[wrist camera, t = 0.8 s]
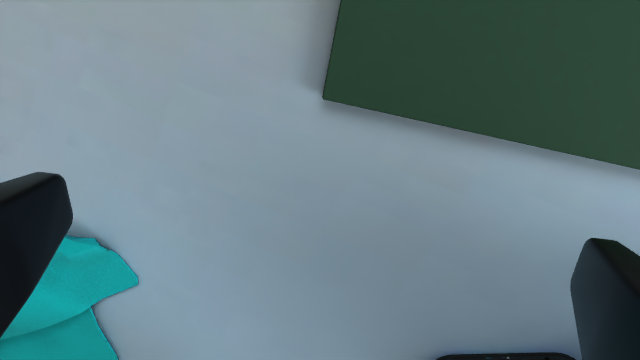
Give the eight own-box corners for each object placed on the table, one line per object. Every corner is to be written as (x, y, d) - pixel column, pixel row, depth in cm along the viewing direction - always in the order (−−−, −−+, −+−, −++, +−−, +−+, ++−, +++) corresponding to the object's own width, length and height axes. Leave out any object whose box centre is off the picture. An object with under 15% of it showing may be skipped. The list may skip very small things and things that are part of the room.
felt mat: (691, 177, 22) (699, 183, 21) (323, 95, 23) (321, 99, 22) (834, -84, 18) (848, -85, 17) (374, -172, 19) (374, -175, 18)
